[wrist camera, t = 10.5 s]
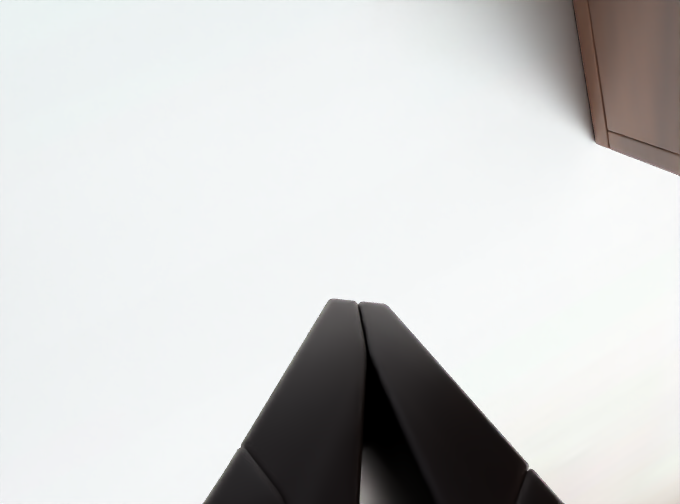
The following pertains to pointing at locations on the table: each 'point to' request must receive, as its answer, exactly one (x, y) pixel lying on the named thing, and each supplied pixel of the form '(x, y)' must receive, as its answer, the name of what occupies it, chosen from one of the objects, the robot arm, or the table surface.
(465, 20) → the table surface
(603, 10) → the walnut box
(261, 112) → the table surface
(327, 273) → the table surface
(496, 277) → the table surface
